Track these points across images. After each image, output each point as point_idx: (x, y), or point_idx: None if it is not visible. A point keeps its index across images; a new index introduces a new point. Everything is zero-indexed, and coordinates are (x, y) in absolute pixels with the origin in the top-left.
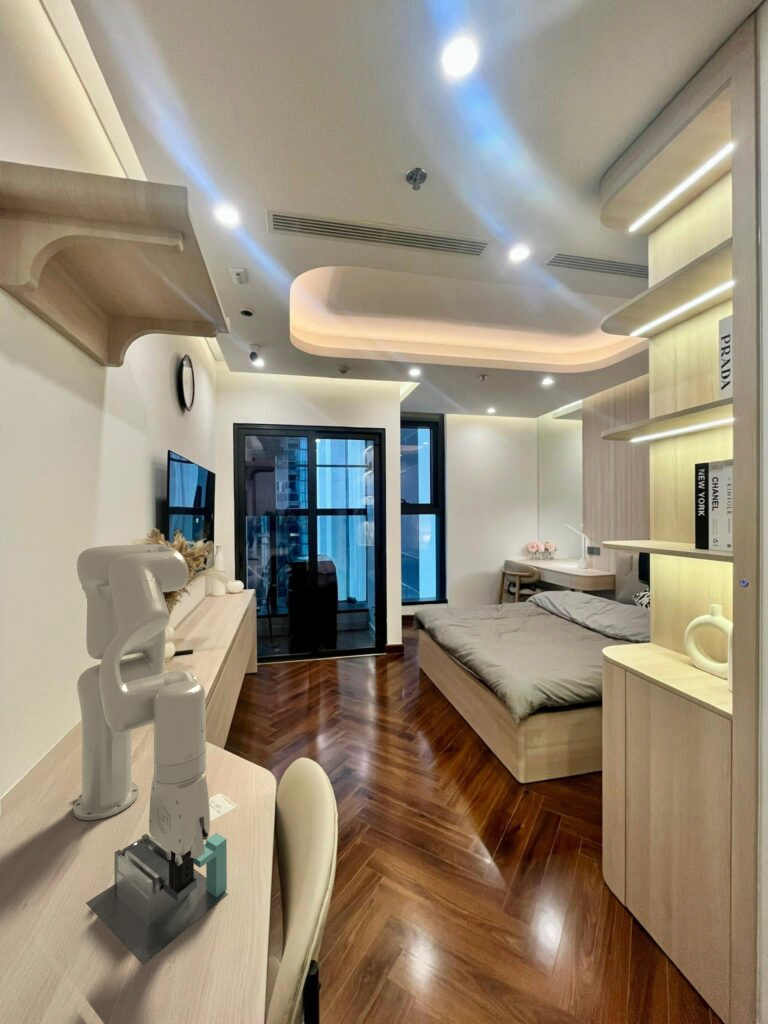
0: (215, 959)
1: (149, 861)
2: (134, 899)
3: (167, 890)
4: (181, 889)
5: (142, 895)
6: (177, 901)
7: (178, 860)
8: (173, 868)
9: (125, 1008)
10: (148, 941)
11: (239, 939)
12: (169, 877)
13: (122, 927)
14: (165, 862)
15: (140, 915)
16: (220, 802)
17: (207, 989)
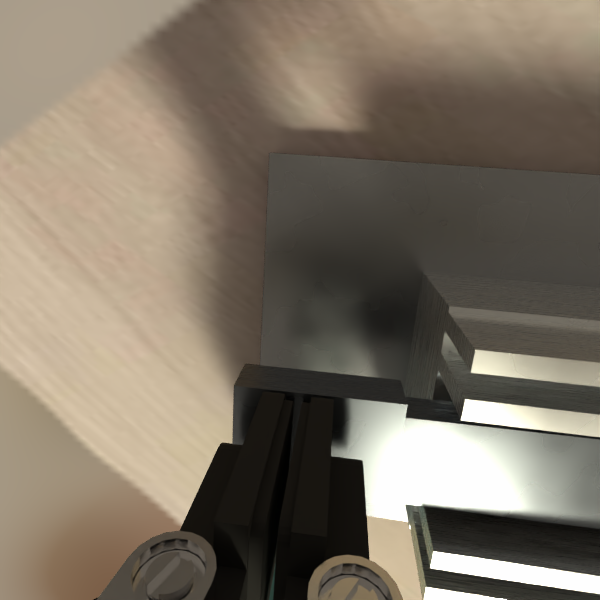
0: (101, 313)
1: None
2: (585, 301)
3: (358, 383)
4: (246, 415)
5: (518, 310)
6: (249, 364)
7: (168, 584)
8: (243, 496)
9: (200, 30)
10: (350, 226)
11: (99, 396)
12: (324, 434)
13: (532, 207)
14: (559, 514)
15: (498, 281)
16: None
17: (31, 233)
